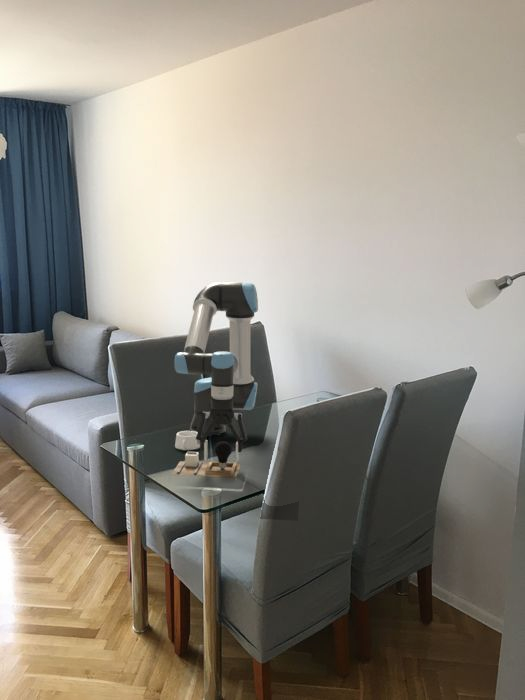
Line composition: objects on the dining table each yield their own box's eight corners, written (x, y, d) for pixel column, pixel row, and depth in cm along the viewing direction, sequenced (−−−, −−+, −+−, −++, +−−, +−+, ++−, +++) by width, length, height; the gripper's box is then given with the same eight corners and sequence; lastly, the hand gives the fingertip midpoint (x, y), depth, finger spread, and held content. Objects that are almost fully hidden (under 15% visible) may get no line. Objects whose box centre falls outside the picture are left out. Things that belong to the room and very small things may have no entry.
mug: (179, 444, 238) (179, 429, 237) (202, 445, 237) (202, 430, 236) (170, 453, 226) (170, 437, 225) (195, 454, 225) (195, 439, 224)
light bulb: (211, 470, 205) (212, 442, 204) (218, 465, 210) (219, 438, 209) (226, 473, 203) (227, 444, 201) (233, 468, 208) (234, 440, 207)
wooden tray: (180, 463, 215) (180, 457, 214) (240, 466, 213) (240, 460, 213) (171, 476, 201) (171, 471, 200) (236, 479, 199) (236, 474, 199)
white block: (187, 462, 213) (187, 450, 212) (198, 463, 212) (198, 450, 212) (185, 466, 209) (185, 453, 208) (196, 466, 208) (196, 454, 208)
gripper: (186, 398, 200) (186, 462, 203) (254, 401, 198) (253, 465, 201) (191, 393, 207) (191, 455, 210) (256, 396, 206) (255, 458, 209)
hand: (221, 460), depth 206 cm, fingers open, 10 cm apart
